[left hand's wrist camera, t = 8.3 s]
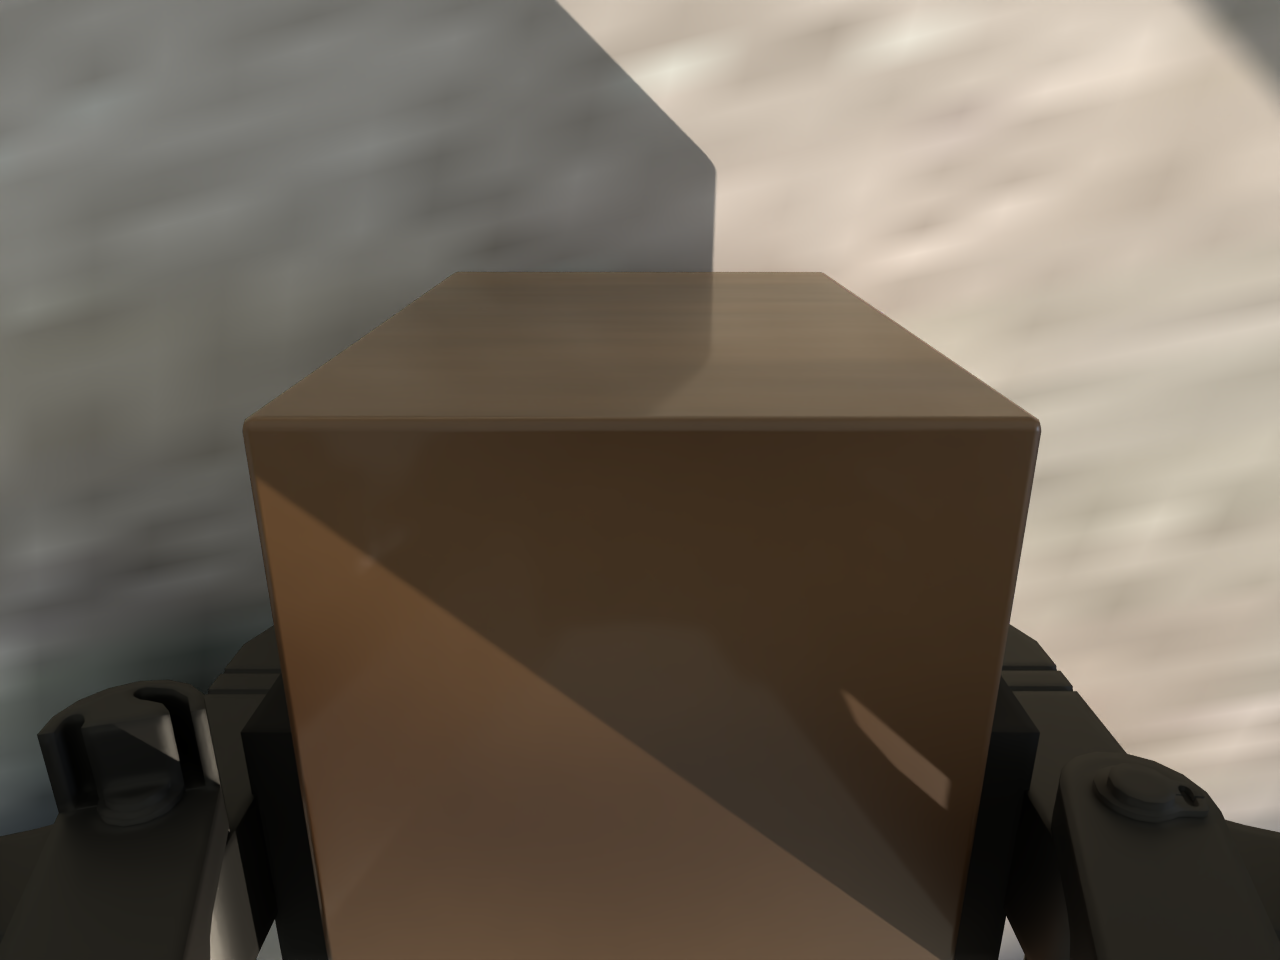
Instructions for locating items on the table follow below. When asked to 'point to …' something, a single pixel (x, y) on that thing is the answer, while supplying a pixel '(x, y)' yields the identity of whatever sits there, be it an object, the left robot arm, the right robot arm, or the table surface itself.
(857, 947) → the bar
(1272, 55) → the table surface
